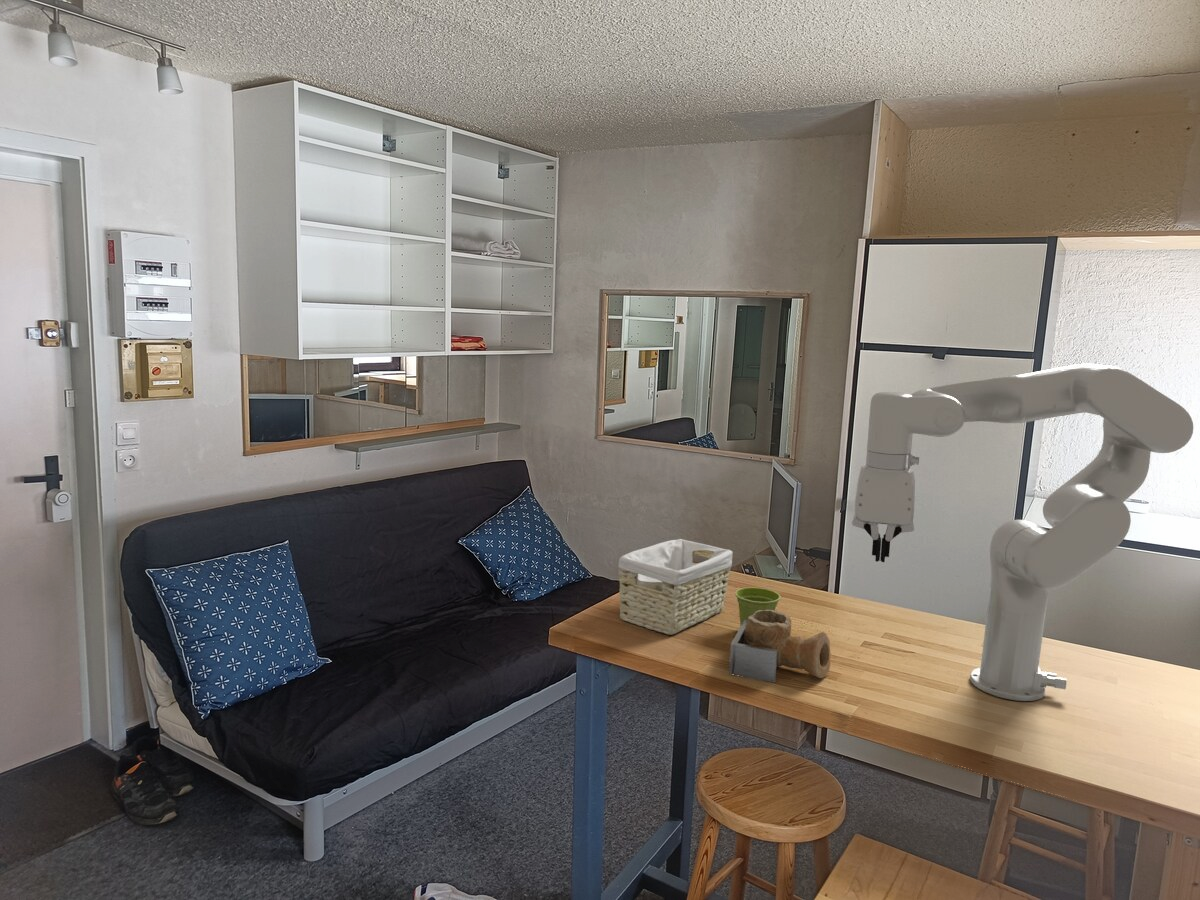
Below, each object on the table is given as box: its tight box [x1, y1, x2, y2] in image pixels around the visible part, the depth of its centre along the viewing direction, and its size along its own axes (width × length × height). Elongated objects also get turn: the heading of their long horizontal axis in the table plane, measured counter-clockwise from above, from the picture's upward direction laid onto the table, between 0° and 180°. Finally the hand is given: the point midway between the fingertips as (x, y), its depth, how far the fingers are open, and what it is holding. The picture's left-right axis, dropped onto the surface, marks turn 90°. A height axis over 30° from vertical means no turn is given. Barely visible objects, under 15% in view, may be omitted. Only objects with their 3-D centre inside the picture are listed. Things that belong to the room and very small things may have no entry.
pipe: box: [744, 610, 831, 679], centre depth 158 cm, size 9×16×10 cm, turn 63°
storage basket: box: [618, 538, 733, 636], centre depth 184 cm, size 24×16×15 cm
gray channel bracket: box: [728, 620, 778, 684], centre depth 160 cm, size 8×14×6 cm, turn 160°
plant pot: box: [734, 586, 781, 627], centre depth 176 cm, size 9×9×9 cm
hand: (879, 559), depth 152 cm, fingers closed
